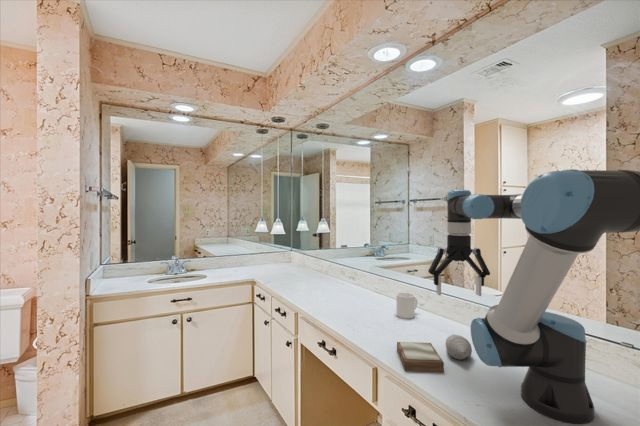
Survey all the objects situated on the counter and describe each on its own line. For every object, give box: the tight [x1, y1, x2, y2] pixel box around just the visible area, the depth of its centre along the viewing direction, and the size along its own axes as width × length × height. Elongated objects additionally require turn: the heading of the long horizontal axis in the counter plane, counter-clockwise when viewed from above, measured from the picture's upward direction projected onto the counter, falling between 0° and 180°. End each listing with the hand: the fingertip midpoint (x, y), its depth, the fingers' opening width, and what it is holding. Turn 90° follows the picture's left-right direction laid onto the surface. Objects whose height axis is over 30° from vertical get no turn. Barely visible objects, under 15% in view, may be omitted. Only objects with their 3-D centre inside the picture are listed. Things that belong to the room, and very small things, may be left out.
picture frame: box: [396, 341, 445, 373], centre depth 102 cm, size 14×12×3 cm
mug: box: [396, 291, 418, 320], centre depth 146 cm, size 12×8×10 cm
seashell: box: [445, 334, 473, 360], centre depth 107 cm, size 9×11×15 cm
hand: (458, 294), depth 106 cm, fingers open, 13 cm apart
